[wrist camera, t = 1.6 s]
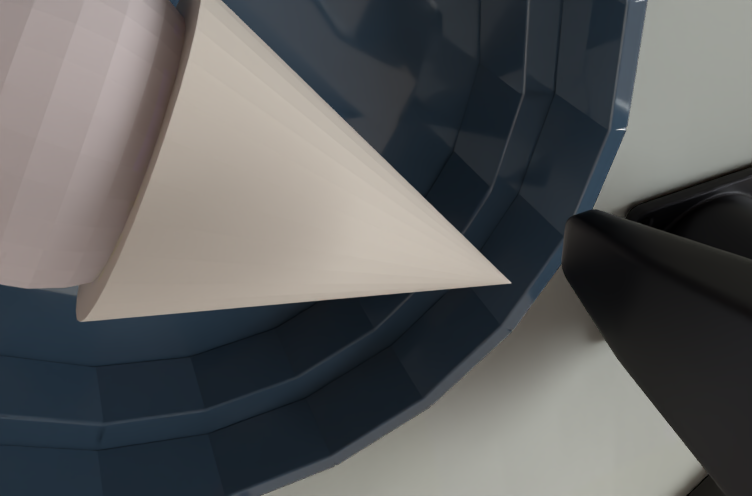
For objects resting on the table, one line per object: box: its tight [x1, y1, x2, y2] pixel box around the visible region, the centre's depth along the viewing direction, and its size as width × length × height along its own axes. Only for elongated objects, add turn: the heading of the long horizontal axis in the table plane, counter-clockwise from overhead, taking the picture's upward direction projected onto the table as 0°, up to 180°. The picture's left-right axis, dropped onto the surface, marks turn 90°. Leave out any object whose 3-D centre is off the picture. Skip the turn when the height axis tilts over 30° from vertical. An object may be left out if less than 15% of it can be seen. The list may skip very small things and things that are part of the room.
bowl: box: [0, 0, 648, 496], centre depth 14 cm, size 18×18×4 cm
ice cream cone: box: [0, 0, 511, 322], centre depth 13 cm, size 6×6×15 cm
